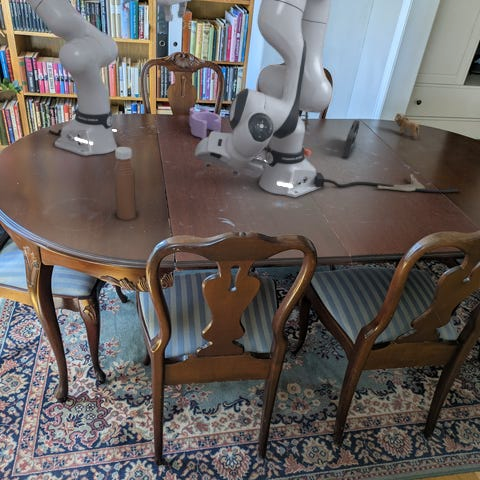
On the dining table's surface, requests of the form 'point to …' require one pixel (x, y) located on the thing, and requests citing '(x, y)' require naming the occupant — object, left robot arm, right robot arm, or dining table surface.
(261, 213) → the dining table surface
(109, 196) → the dining table surface
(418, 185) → the jawbone
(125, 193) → the bottle
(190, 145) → the dining table surface
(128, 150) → the cap
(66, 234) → the dining table surface
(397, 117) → the lion figurine
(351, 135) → the handheld gaming console
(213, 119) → the clip
